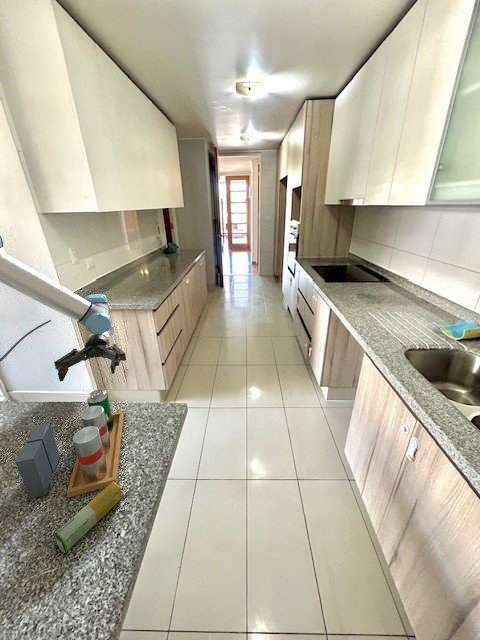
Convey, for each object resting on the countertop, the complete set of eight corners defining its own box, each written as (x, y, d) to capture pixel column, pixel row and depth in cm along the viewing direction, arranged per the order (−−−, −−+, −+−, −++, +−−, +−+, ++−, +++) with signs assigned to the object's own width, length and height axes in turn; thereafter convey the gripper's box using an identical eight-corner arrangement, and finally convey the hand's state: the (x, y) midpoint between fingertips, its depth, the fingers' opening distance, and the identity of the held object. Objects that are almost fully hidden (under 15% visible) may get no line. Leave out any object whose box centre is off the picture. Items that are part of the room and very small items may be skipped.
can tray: (89, 423, 77) (87, 418, 76) (123, 416, 80) (123, 411, 79) (68, 499, 56) (66, 492, 55) (116, 485, 59) (115, 479, 58)
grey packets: (46, 460, 65) (34, 425, 61) (60, 457, 66) (49, 423, 62) (30, 500, 56) (15, 462, 52) (46, 495, 57) (33, 458, 53)
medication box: (64, 556, 47) (60, 544, 45) (56, 546, 48) (52, 534, 46) (123, 498, 56) (121, 486, 55) (115, 491, 57) (113, 479, 56)
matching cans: (91, 444, 69) (82, 407, 65) (112, 439, 71) (104, 403, 67) (81, 486, 58) (69, 446, 54) (106, 480, 60) (97, 440, 55)
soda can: (92, 436, 72) (83, 401, 67) (97, 423, 76) (89, 389, 72) (112, 434, 73) (104, 398, 68) (116, 421, 77) (109, 387, 73)
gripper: (135, 348, 100) (134, 377, 82) (61, 357, 92) (40, 392, 74) (133, 330, 98) (130, 356, 79) (56, 338, 90) (33, 369, 71)
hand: (87, 373), depth 76 cm, fingers open, 13 cm apart
